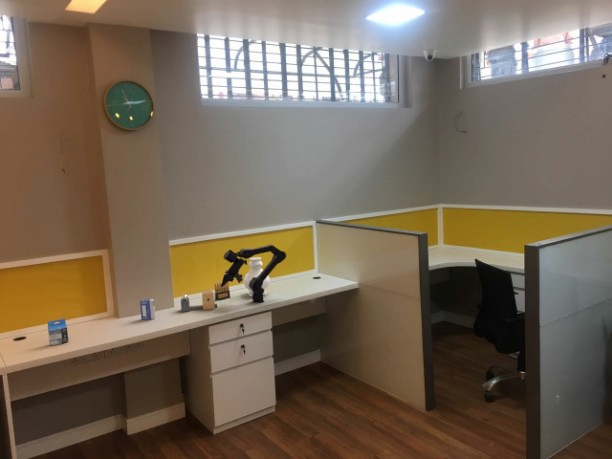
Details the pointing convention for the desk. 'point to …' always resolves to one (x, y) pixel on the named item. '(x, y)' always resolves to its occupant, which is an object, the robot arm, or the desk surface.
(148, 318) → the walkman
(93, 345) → the desk surface
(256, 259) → the decorative vase
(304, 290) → the desk surface
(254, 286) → the robot arm
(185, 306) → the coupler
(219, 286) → the ammunition clip
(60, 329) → the label tape cartridge
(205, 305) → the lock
